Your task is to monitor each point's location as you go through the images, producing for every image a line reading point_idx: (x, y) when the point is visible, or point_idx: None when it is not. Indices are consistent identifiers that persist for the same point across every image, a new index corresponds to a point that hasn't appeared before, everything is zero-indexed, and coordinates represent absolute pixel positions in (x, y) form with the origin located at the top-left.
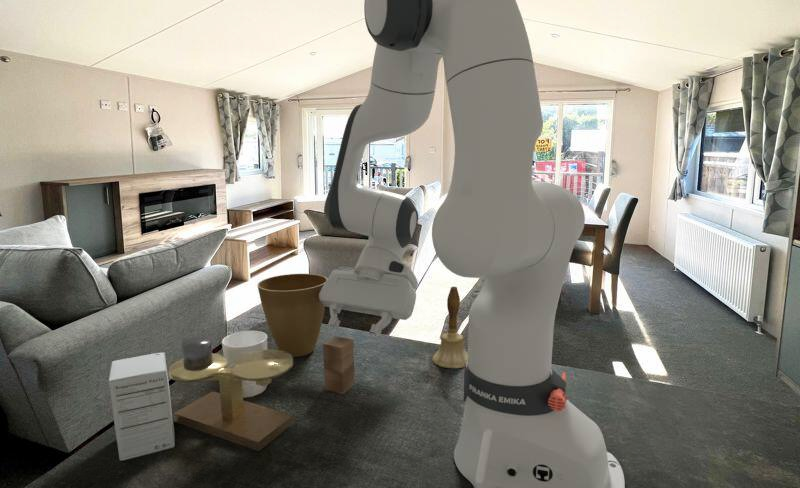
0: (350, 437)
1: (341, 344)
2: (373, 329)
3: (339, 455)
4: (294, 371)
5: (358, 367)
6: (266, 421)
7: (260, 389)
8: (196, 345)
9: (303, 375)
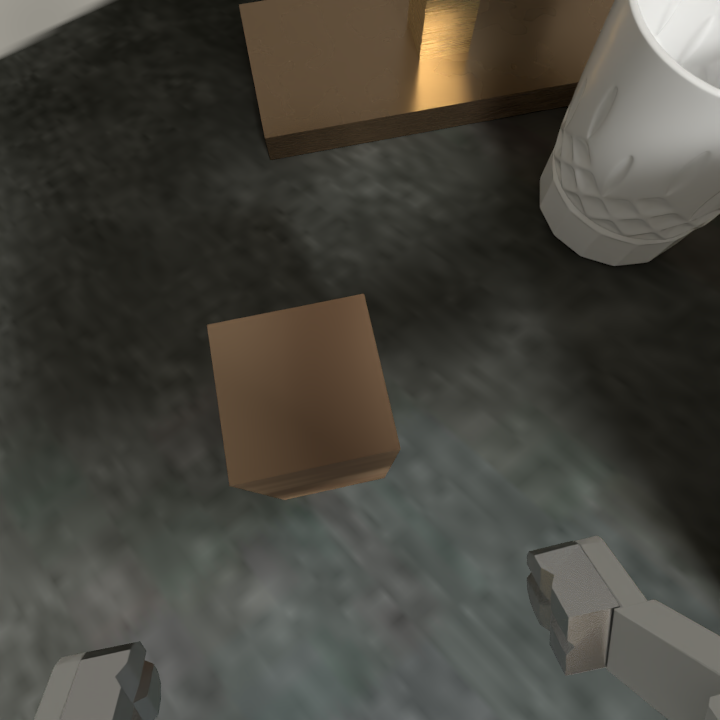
0: (52, 215)
1: (245, 363)
2: (89, 673)
3: (29, 140)
4: (616, 413)
5: (400, 666)
6: (309, 71)
7: (544, 196)
8: None
9: (547, 412)
